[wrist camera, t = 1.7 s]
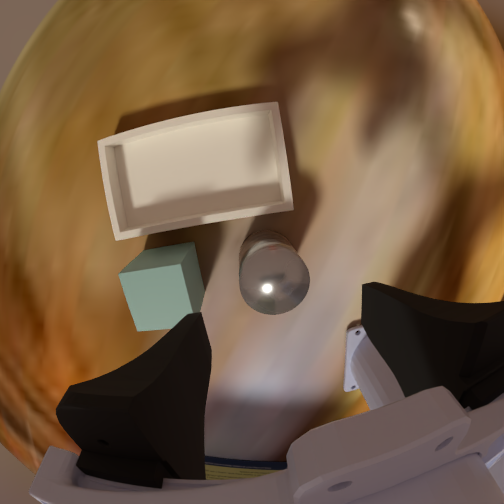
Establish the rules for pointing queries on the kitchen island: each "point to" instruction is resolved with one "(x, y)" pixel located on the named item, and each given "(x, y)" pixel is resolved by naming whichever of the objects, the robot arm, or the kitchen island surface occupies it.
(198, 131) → the parts tray
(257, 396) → the kitchen island surface
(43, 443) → the kitchen island surface
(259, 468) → the protein box
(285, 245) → the silver metal cylinder
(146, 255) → the teal block
